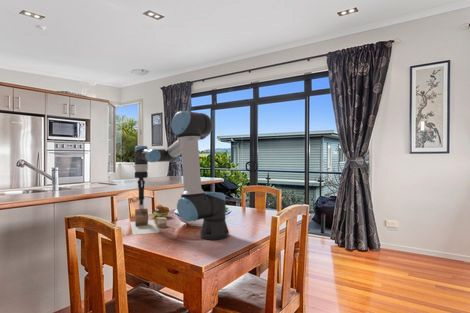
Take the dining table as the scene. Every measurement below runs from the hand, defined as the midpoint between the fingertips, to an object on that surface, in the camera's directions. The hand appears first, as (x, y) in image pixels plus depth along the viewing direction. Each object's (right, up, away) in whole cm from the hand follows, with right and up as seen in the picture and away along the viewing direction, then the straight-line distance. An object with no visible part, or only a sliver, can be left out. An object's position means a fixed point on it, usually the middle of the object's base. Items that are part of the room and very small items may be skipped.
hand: (141, 209), depth 182 cm
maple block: (+13, -9, -4) cm, 16 cm away
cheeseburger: (+7, -9, +20) cm, 23 cm away
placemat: (+3, -9, -6) cm, 11 cm away
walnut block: (0, -7, 0) cm, 7 cm away
